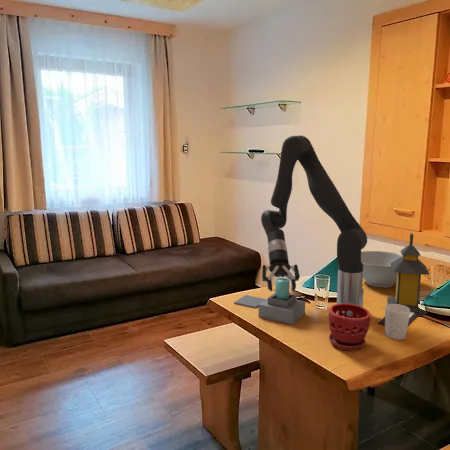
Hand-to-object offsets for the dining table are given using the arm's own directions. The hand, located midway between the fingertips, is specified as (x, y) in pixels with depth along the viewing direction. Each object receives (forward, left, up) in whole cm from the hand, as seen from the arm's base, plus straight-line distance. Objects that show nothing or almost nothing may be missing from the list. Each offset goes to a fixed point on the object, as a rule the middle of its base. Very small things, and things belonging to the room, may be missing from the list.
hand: (282, 290), depth 172 cm
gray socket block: (0, 0, -10) cm, 10 cm away
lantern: (-39, -34, -10) cm, 53 cm away
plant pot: (-29, +11, -10) cm, 33 cm away
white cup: (-41, -4, -10) cm, 42 cm away
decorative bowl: (-23, -58, -10) cm, 63 cm away
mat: (+17, -6, -10) cm, 21 cm away
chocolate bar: (-39, -19, -11) cm, 45 cm away
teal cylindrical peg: (0, 0, -5) cm, 5 cm away
